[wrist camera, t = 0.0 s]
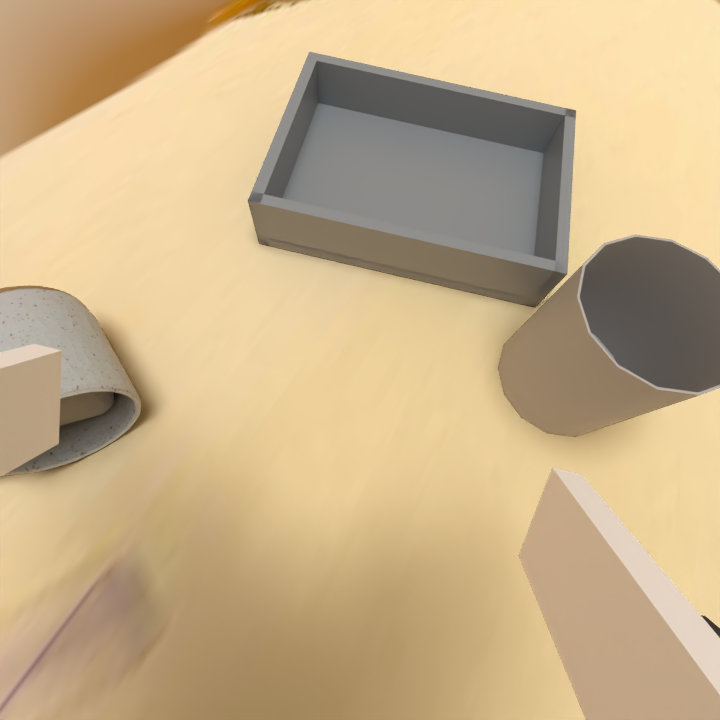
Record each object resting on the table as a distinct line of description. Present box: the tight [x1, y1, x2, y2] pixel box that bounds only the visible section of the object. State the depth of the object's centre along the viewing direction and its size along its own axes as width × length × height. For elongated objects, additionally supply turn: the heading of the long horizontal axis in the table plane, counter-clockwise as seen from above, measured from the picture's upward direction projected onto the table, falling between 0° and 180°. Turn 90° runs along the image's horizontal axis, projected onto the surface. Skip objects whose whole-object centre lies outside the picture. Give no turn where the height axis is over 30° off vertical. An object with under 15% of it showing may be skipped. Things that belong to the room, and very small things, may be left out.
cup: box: [498, 235, 720, 437], centre depth 24 cm, size 8×8×10 cm
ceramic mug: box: [0, 286, 141, 475], centre depth 23 cm, size 11×8×8 cm
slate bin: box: [248, 52, 576, 307], centre depth 32 cm, size 15×21×4 cm
